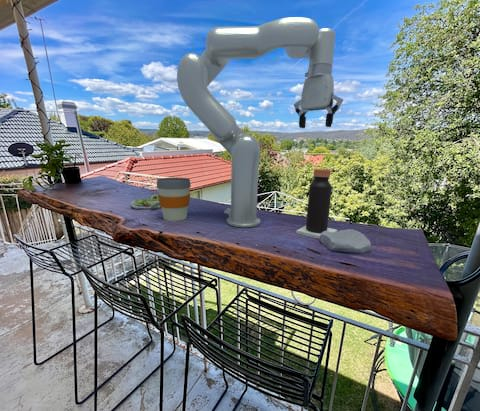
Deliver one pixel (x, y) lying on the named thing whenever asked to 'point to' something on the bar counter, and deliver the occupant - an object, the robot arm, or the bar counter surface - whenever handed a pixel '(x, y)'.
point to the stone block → (346, 241)
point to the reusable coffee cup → (174, 197)
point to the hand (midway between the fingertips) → (314, 127)
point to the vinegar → (319, 202)
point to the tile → (312, 234)
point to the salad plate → (147, 203)
